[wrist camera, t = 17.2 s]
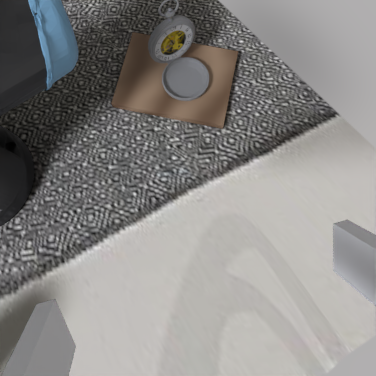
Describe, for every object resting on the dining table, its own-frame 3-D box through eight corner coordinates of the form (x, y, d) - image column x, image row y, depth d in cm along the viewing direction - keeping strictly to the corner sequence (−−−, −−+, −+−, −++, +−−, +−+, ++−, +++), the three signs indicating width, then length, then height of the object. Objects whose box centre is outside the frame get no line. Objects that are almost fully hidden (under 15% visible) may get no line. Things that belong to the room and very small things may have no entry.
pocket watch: (195, 110, 37) (198, 62, 27) (143, 86, 38) (127, 30, 28) (221, 64, 38) (232, 3, 29) (169, 41, 39) (163, -26, 29)
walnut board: (113, 107, 38) (111, 103, 37) (134, 37, 40) (132, 32, 40) (222, 128, 37) (223, 125, 36) (237, 56, 40) (238, 51, 39)
